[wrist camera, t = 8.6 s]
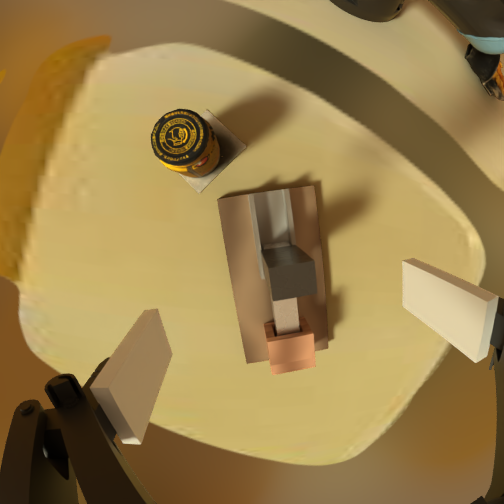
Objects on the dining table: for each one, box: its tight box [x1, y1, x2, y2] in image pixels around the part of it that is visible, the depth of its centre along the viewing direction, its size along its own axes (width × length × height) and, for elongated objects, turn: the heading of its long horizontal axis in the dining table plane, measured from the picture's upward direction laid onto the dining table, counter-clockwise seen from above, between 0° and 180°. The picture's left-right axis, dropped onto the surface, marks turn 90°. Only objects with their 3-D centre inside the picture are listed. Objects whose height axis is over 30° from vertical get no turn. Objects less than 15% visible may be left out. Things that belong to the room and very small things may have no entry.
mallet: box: [260, 241, 317, 337], centre depth 30 cm, size 4×14×11 cm, turn 9°
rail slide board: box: [217, 185, 328, 375], centre depth 35 cm, size 12×23×7 cm, turn 9°
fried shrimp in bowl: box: [465, 44, 504, 101], centre depth 29 cm, size 9×11×18 cm
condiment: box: [151, 109, 247, 193], centre depth 28 cm, size 7×8×12 cm
